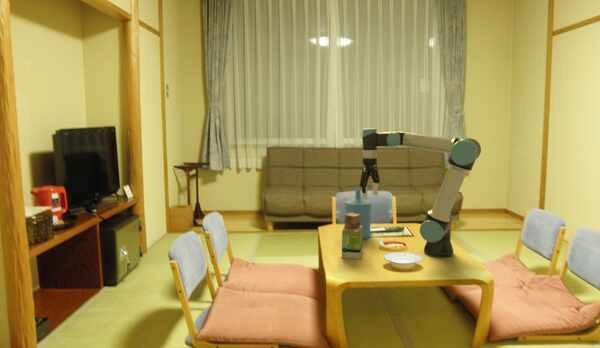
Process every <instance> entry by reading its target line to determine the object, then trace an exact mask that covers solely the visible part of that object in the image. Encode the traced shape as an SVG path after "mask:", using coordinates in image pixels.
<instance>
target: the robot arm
mask: <svg viewBox="0 0 600 348" xmlns="http://www.w3.org/2000/svg"><path fill="white" fill-rule="evenodd" d="M361 135H362V137H361V139H362V151H361V152H362V157H363V158H362V165H363V166H364V167H362V168H361V170H362V171H361V174H360V175H361V176H360V181H359V182H360V183H359V187H360V188H361V198H362V199H365V200H368V186H367V185H368V182H369V179H370V177H371V180H372V195H373V196H378V195H379V184H380V181H381V180H380V175H379V170H378V165H377V164H378V159H377V157H378V147H382V148H383V147H385V148H386V147H387V148H394V147H395V148H396V147H398V146H401V147H407V148H413V149H414V148H415V149H419V150H427V151H431V152H437V153H438V152H439V153H445V154H450V155H449V157H448V160H447V163H448V165H449V166H448V169H447V172H446V174H445V177H444V179H443V181H442V185H441V186H440V189H439V192H438V194H437V196H436V199H435V201H434V204H433V206H432V209H431V210H428V211H427V213H426V215H425V218H424V220H423V222H421V225H420V227H419V233H420V236H421V238H422V239H423V240H425V241H426V243H425V244H424V246H423V247H424V248H423V253H424V254H425V255H427V256H430V257H433V258H434V257H435V258H448V257H452V256H454V248H453V244H452V241H451V238H452V236H451V235H452V234H451V233H452V219H453V218H452V213H451V211H452V208H453V207H454V204H455V201H456V200H457V196H458V194H459V193H460V192H459V191H460V189H461V187H462V185H463V182H464V180H465V178H466V176H467V174H468V173H469V172H471V171H472V169H473V168H474V165H475V162H476V160H477V159H478V158H479V157H480V155H481V154H482V153H481V152H482V148H481V144H480V143H479V142H478V141H477V140H476V139H474V138H470V137H469V138H467V137H466V138H465V137H454V138H448V137H442V136H435V135H428V134H419V133H413V132H406V131H401V130H393V131H383V132H382V131H381V132H379V131H378V130H377V128H375V127H373V128H371V127H370V128H363V129H362V134H361Z"/></svg>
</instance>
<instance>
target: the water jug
mask: <svg viewBox="0 0 600 348" xmlns="http://www.w3.org/2000/svg"><path fill="white" fill-rule="evenodd" d="M344 204H345V205H344V216H345V215H346V214H348V213H356V214H360V225H363V239H362V240H364V239H365V240H366V239H369V238H370V237H371V235H372V232H371V223H372V219H371V218H372V217H371V216H372V215H371V213H372V202H371V201H369V200H368V199H362V189H361V190H360V189H357V190H355V197H353V198H350V199H349V200H345V202H344Z"/></svg>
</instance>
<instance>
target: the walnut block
mask: <svg viewBox="0 0 600 348" xmlns="http://www.w3.org/2000/svg"><path fill="white" fill-rule="evenodd" d="M344 226H345V228H348V229H354V230H355V229H357V228H359V227H360V214H356V213H348V214H346V215H345V214H344Z"/></svg>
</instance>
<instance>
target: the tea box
mask: <svg viewBox="0 0 600 348" xmlns="http://www.w3.org/2000/svg"><path fill="white" fill-rule="evenodd" d="M341 235H342V236H341V258H343V259H356V260H358V259H359V260H360V259H361V256H362V252H363V240H364V239H363V225H360V227H359V228H357V229H355V230H354V229H348V228H345V225H344V227H343V229H342V233H341Z"/></svg>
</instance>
